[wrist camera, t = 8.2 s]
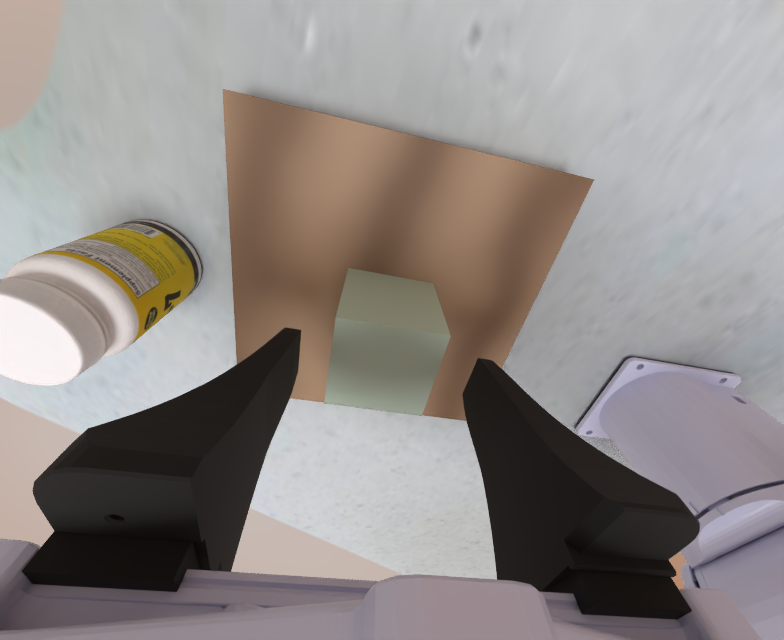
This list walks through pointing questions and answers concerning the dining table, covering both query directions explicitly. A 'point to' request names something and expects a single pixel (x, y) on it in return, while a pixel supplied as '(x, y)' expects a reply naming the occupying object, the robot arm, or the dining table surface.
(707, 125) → the dining table surface
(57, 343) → the supplement bottle
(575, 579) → the robot arm
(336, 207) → the walnut base
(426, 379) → the sage block
